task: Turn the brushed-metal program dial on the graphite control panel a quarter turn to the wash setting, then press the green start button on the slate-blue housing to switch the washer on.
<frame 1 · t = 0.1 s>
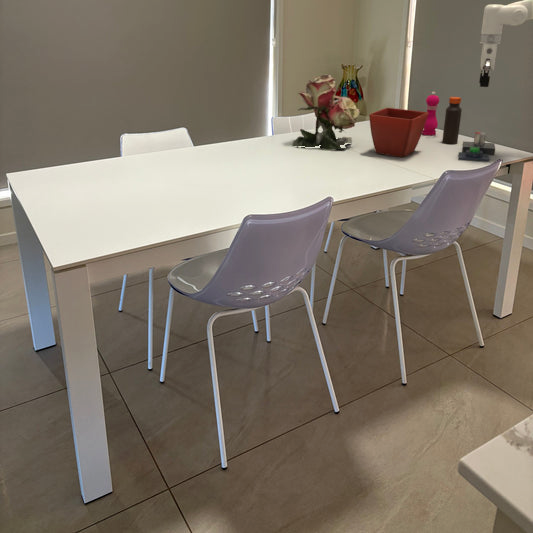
hand: (483, 85, 235), 29 cm above the table, tool pointing down, fingers open, 9 cm apart
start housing: (473, 158, 244), on the table
start button: (474, 150, 243), point 3 cm above the table, slide at 0.1 cm
bottle: (449, 143, 270), on the table
pepper mill: (428, 134, 285), on the table
dial panel: (477, 151, 254), on the table
rose bouquet: (326, 143, 270), on the table
program dial: (479, 138, 252), point 6 cm above the table, hinge at 0.0°
flower pot: (395, 153, 254), on the table
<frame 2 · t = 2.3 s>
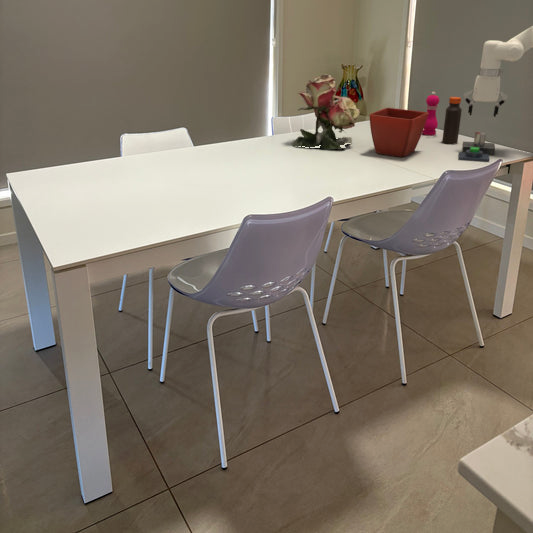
hand: (482, 115, 247), 16 cm above the table, tool pointing down, fingers open, 9 cm apart
nothing on the table moved.
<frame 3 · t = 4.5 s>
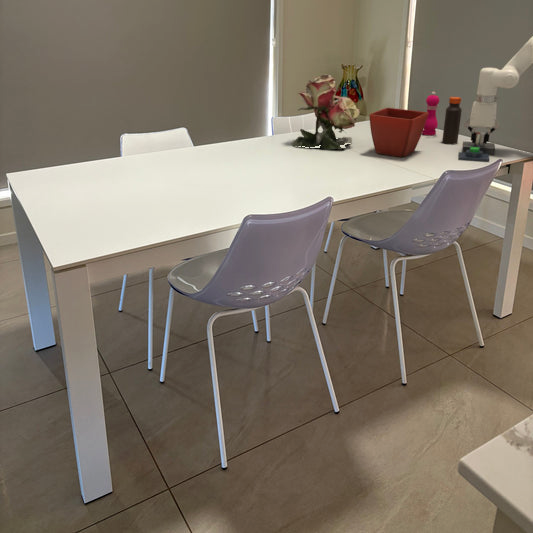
hand: (479, 142, 252), 4 cm above the table, tool pointing down, fingers closed on program dial, 4 cm apart
program dial: (479, 138, 252), point 6 cm above the table, hinge at 0.0°, touching gripper
everything else where it was.
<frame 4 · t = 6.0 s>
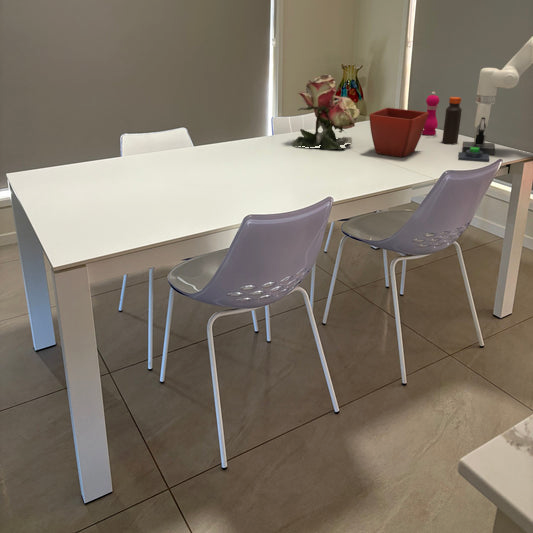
hand: (479, 142, 252), 4 cm above the table, tool pointing down, fingers closed on program dial, 4 cm apart
program dial: (479, 138, 252), point 6 cm above the table, hinge at 89.4°, touching gripper
everything else where it was.
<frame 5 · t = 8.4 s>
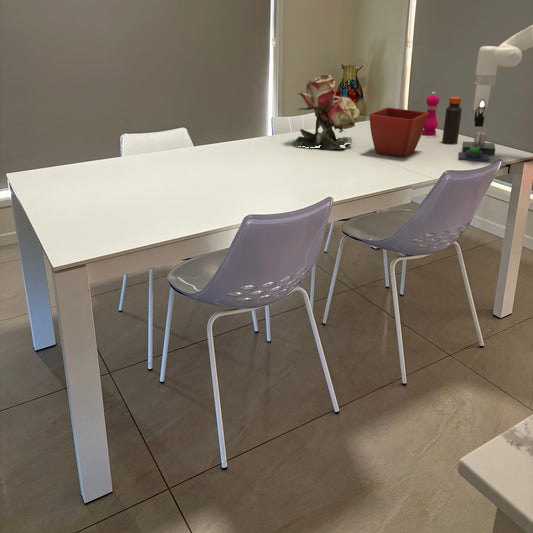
hand: (478, 123, 238), 14 cm above the table, tool pointing down, fingers open, 8 cm apart
program dial: (479, 138, 252), point 6 cm above the table, hinge at 89.3°
everything else where it was.
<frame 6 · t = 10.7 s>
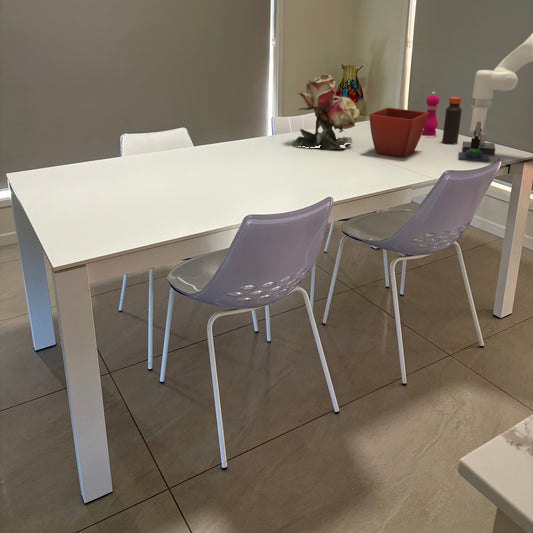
hand: (474, 148, 243), 4 cm above the table, tool pointing down, fingers closed
start button: (474, 150, 243), point 3 cm above the table, slide at 0.1 cm, touching gripper
everything else where it was.
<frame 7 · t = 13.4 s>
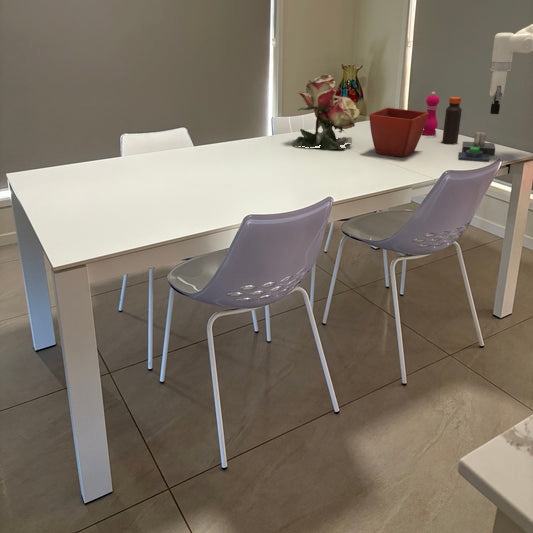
hand: (494, 113, 240), 18 cm above the table, tool pointing down, fingers closed
start button: (474, 150, 243), point 3 cm above the table, slide at 0.1 cm
everything else where it was.
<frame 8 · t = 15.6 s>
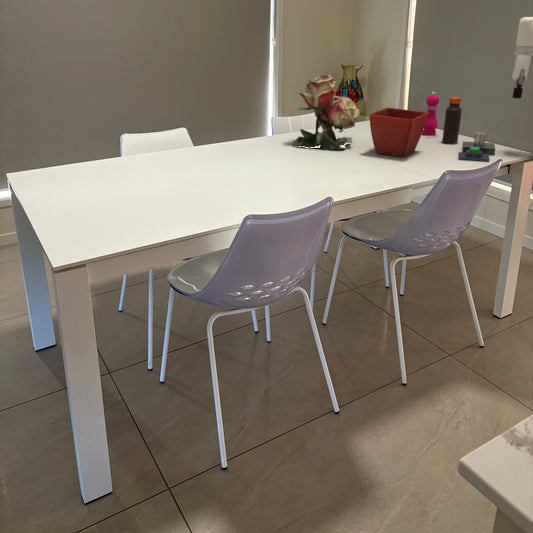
hand: (516, 97, 242), 23 cm above the table, tool pointing down, fingers closed
nothing on the table moved.
at the end: program dial at +89° (first picture: +0°); start button pushed in 1.1 cm at the most during the clip, back to where it started at the end; start button slide at 0.1 cm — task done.
